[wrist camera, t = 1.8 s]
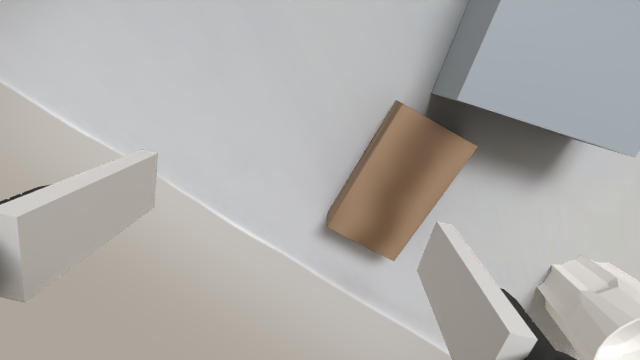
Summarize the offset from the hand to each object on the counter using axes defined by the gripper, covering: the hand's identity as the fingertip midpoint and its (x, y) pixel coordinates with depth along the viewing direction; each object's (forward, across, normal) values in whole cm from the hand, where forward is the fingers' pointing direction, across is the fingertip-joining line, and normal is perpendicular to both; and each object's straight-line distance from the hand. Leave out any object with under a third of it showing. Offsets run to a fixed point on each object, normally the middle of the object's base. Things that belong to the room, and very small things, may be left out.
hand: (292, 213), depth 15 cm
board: (+20, +9, -2) cm, 22 cm away
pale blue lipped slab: (+19, +18, +12) cm, 29 cm away
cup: (+20, +33, -10) cm, 40 cm away
